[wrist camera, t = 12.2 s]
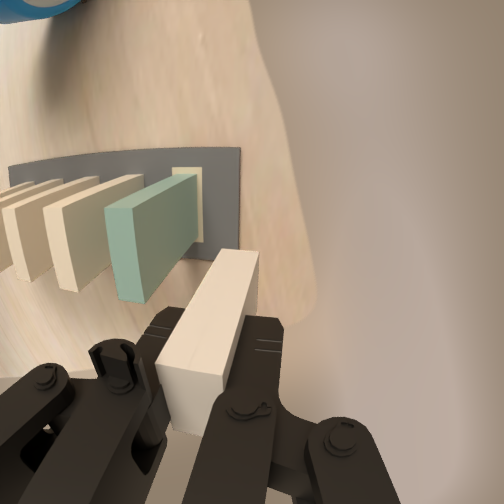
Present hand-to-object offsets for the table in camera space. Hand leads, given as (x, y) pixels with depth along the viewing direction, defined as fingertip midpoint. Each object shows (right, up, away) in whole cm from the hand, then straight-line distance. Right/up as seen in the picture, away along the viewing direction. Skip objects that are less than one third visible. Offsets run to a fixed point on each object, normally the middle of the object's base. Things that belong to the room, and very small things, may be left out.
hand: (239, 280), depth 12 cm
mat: (-13, +6, +12) cm, 19 cm away
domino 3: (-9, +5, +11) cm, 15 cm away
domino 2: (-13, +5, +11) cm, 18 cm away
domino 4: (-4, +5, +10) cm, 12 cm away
